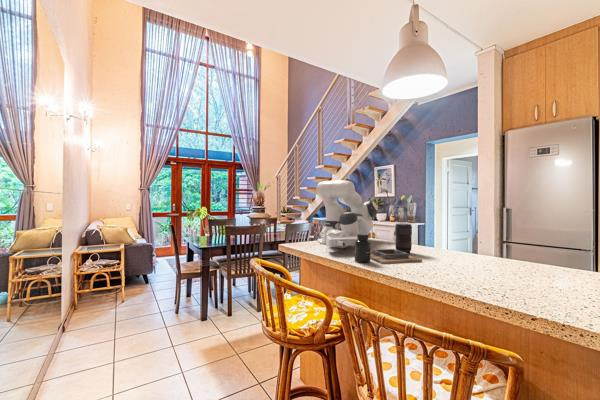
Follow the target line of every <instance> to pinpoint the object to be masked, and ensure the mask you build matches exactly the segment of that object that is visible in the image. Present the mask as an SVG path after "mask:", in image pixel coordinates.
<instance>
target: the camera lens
mask: <svg viewBox="0 0 600 400" xmlns="http://www.w3.org/2000/svg"><path fill="white" fill-rule="evenodd" d="M394 231H395V233H394V234H395V242H394V243H395V244H394V245H395V246H394V247H395V250H399V251H402V252H405V253H408V254H409V255H410V254H411V251H412V235H413V226H412V224H411V223H395V228H394Z"/></svg>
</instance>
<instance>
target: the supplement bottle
mask: <svg viewBox="0 0 600 400" xmlns="http://www.w3.org/2000/svg"><path fill="white" fill-rule="evenodd" d="M357 239H358V240H356V241H355V245H354V261H355V262H356V263H360V264H368V263H370V262H371V259H370V252H371V250H372V249H371V248H372V247H371V241H370V240H369V234H357Z"/></svg>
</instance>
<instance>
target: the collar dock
mask: <svg viewBox="0 0 600 400" xmlns="http://www.w3.org/2000/svg"><path fill="white" fill-rule="evenodd" d="M370 260H372V261H374V262H376V263H379V264H381V265H387V264H388V265H389V264H407V263H422V262H423V259H421V258H419V257H415V256H412V255H410V254H408V253H405V252H402V251H399V250H396V248H395V249H394V248H389V249H388V248H387V249H371V251H370Z"/></svg>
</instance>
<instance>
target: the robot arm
mask: <svg viewBox="0 0 600 400" xmlns="http://www.w3.org/2000/svg"><path fill="white" fill-rule="evenodd" d="M315 190H316V194H317V195H318V196H319V198H320V199H322V201H323V204H324V207H325V221H324V227H323V229H322V230H321V232H319V233H318V234H319V238H317V241H318V243H319V244H323V245H326V247H333V248H339V249H345V248H347V247H353V246H355V241H356V240H358V239H357V234H367V235H369V234H370V232H371V231H372V230H373V227H374V222H373V219H375V218H376V215H377V214H378V211H379V208H378V205H377V203H376V202H375V201H374V200H367V201H365V202H363V199H362V196H361V195H360V193H358V192H357V191H356V187H355V184H354V183H353V181H350V180H346V179H345V180H344V179H343V180H340V179H339V180H324V181H321V182H320V181H319V183H318V184H317V185H316V189H315ZM338 201H339V202H340V203H342V204H343V205H345V206H348V209H347V212H345V211H344V210H345V209H344V207H343V206H342V205H341V204H339V202H338ZM362 202H363V203H362Z"/></svg>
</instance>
